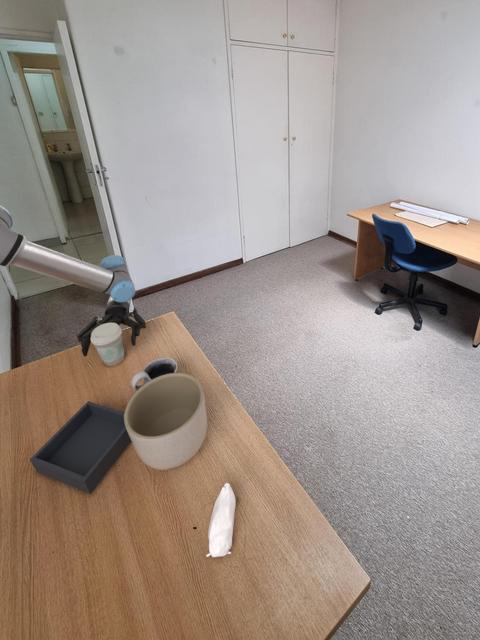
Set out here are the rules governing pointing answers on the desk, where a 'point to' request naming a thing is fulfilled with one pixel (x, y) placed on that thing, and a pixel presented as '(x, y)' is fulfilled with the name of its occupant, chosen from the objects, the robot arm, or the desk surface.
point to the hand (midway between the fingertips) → (108, 347)
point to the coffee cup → (108, 343)
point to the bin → (84, 447)
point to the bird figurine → (222, 523)
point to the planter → (167, 420)
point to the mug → (155, 371)
